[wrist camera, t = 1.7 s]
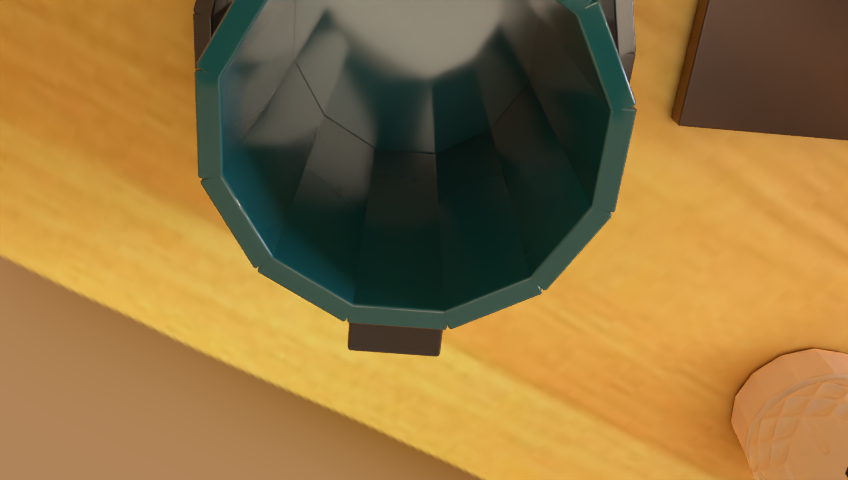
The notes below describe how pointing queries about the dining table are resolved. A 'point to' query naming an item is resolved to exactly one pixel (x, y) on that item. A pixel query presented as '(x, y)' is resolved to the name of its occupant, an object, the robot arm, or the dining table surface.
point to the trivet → (767, 68)
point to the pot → (412, 152)
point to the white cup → (795, 417)
